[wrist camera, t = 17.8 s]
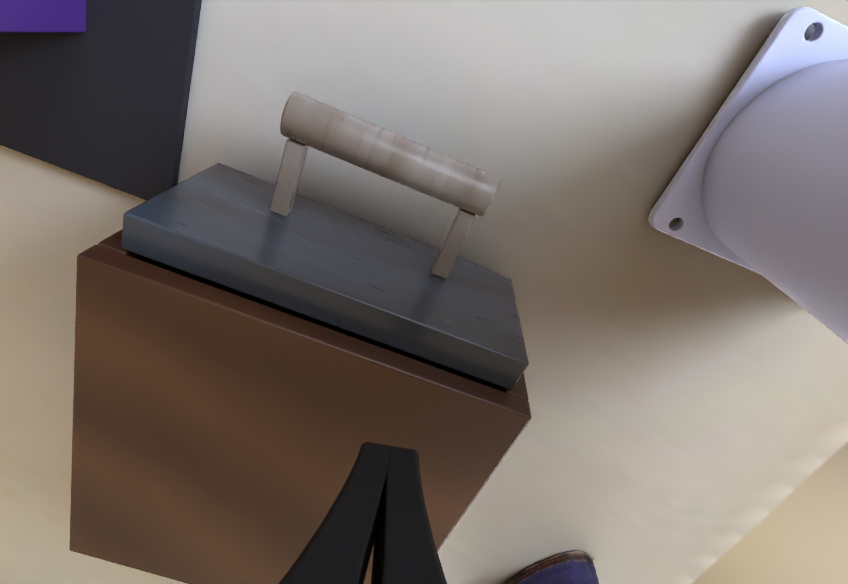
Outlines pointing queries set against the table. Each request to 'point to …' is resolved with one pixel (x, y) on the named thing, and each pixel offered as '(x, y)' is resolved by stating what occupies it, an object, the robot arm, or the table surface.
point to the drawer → (344, 248)
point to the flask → (560, 571)
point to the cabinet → (247, 425)
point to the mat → (104, 93)
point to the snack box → (43, 16)
